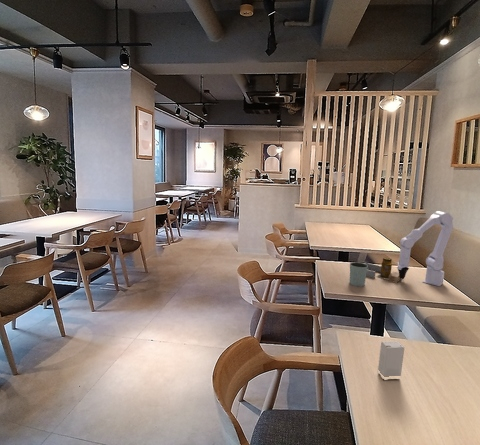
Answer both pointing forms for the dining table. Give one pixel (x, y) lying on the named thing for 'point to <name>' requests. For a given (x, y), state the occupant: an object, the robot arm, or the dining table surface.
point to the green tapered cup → (358, 273)
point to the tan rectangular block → (394, 277)
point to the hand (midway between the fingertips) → (401, 278)
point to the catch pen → (372, 267)
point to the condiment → (385, 268)
